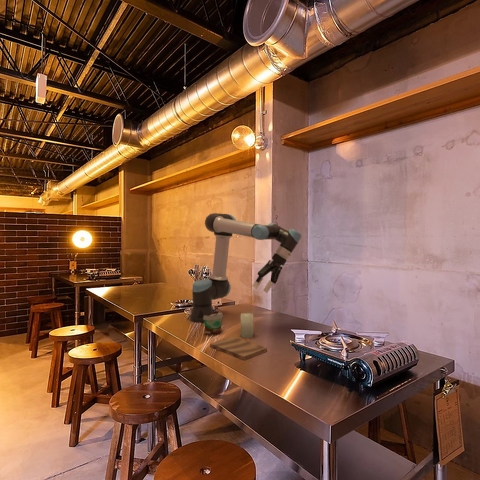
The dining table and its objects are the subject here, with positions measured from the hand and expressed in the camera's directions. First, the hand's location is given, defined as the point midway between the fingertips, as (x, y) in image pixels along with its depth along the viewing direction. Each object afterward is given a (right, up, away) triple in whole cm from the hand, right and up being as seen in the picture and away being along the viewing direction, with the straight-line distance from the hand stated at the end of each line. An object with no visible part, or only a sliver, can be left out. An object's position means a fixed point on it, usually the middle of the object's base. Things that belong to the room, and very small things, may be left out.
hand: (259, 289), depth 169 cm
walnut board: (-12, -22, -28) cm, 37 cm away
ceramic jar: (-7, -22, -9) cm, 25 cm away
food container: (-23, -22, -4) cm, 32 cm away
